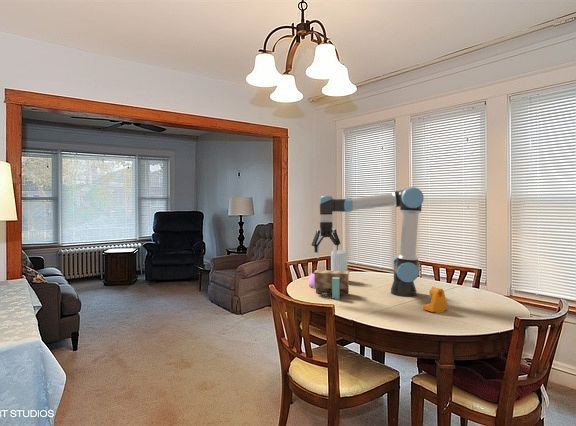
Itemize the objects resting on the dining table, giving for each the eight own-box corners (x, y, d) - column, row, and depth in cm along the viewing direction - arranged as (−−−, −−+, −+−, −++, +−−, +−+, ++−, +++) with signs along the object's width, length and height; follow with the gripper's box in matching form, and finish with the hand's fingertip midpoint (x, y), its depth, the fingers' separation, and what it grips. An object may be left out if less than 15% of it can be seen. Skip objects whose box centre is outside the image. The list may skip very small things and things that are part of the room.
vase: (328, 280, 270) (328, 249, 269) (342, 279, 273) (342, 248, 272) (335, 283, 259) (335, 251, 258) (350, 282, 262) (350, 250, 261)
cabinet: (349, 293, 230) (349, 271, 229) (348, 296, 222) (348, 273, 221) (315, 291, 235) (315, 270, 234) (313, 295, 226) (313, 272, 226)
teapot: (334, 289, 242) (334, 273, 242) (321, 291, 237) (321, 275, 236) (317, 284, 257) (317, 269, 257) (305, 286, 252) (305, 271, 251)
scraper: (340, 294, 227) (340, 275, 227) (339, 299, 216) (339, 278, 216) (334, 294, 228) (334, 274, 227) (332, 299, 217) (332, 278, 217)
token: (329, 294, 229) (329, 291, 229) (328, 296, 225) (328, 293, 225) (322, 294, 230) (322, 291, 230) (321, 295, 226) (321, 292, 226)
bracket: (436, 307, 199) (436, 284, 198) (447, 310, 192) (447, 287, 192) (421, 310, 194) (421, 287, 193) (432, 313, 187) (432, 290, 187)
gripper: (338, 220, 233) (338, 254, 233) (305, 222, 219) (305, 257, 220) (346, 221, 226) (346, 255, 227) (313, 222, 213) (313, 259, 214)
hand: (326, 257), depth 223 cm, fingers open, 13 cm apart
